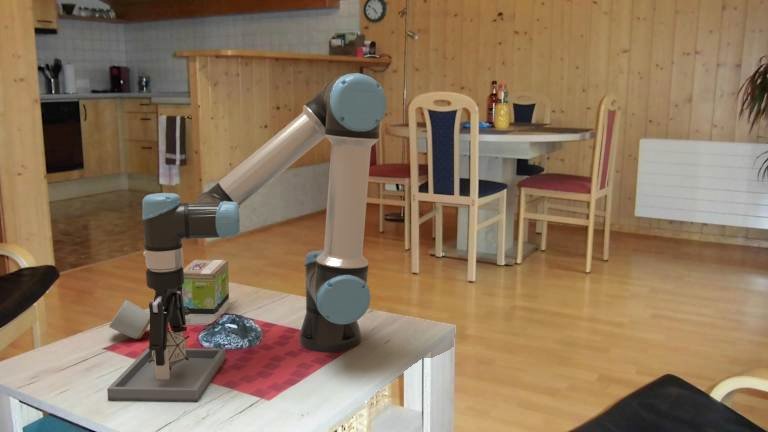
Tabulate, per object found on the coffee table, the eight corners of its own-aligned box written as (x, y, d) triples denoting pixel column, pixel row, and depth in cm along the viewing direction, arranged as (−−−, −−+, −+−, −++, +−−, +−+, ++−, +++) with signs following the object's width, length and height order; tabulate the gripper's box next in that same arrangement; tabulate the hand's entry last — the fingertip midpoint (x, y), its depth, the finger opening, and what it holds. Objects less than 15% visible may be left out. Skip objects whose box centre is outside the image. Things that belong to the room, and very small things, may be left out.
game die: (152, 382, 143) (149, 336, 141) (145, 367, 150) (142, 324, 148) (195, 374, 147) (193, 329, 145) (187, 360, 154) (185, 317, 152)
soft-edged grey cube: (136, 347, 171) (148, 327, 168) (105, 332, 169) (116, 312, 165) (149, 319, 180) (161, 300, 177) (120, 305, 178) (131, 285, 174)
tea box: (217, 327, 181) (214, 272, 178) (178, 327, 181) (175, 272, 178) (230, 309, 195) (228, 258, 193) (195, 309, 196) (192, 258, 193)
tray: (225, 359, 159) (225, 349, 159) (197, 401, 138) (196, 390, 137) (148, 358, 160) (147, 347, 159) (108, 400, 138) (107, 388, 138)
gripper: (164, 255, 155) (170, 350, 159) (126, 281, 134) (133, 390, 138) (197, 255, 155) (202, 350, 159) (164, 281, 134) (171, 391, 138)
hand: (170, 369), depth 148 cm, fingers closed on game die, 9 cm apart
